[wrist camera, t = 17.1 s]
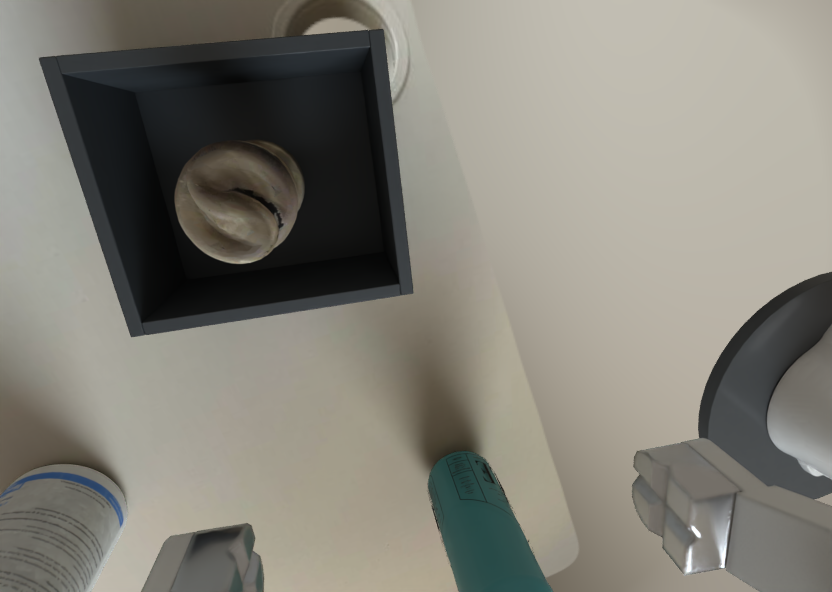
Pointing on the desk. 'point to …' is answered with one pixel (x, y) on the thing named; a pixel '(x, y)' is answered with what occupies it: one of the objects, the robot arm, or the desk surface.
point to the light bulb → (239, 198)
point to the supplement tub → (58, 529)
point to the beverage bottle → (481, 528)
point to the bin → (240, 120)
